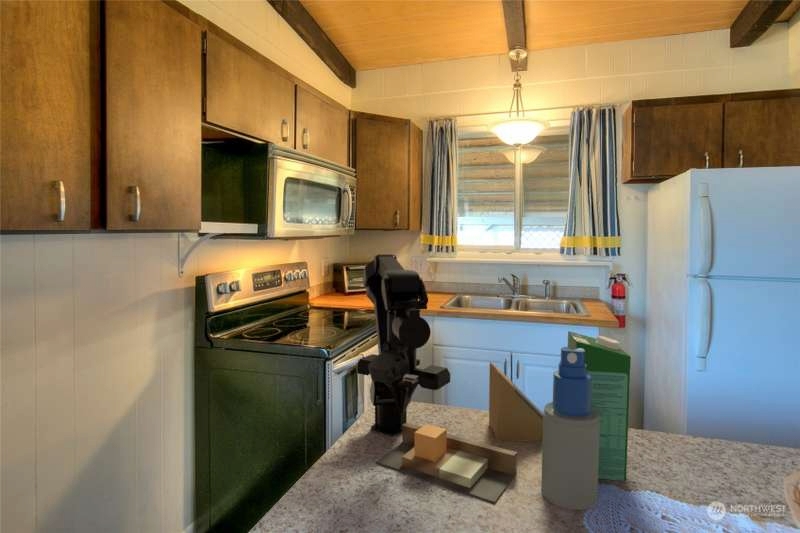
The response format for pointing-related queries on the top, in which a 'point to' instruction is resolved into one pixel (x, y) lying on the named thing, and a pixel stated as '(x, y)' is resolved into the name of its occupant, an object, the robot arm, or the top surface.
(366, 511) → the top surface
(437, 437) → the block
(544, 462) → the spray bottle
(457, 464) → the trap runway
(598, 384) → the milk carton
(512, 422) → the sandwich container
